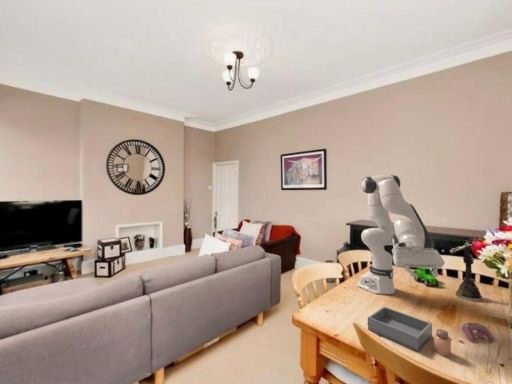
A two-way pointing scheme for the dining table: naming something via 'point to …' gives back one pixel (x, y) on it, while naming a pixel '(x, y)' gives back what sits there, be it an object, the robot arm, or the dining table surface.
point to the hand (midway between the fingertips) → (424, 275)
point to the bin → (400, 328)
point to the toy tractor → (425, 276)
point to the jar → (442, 343)
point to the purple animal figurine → (480, 333)
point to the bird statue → (467, 276)
